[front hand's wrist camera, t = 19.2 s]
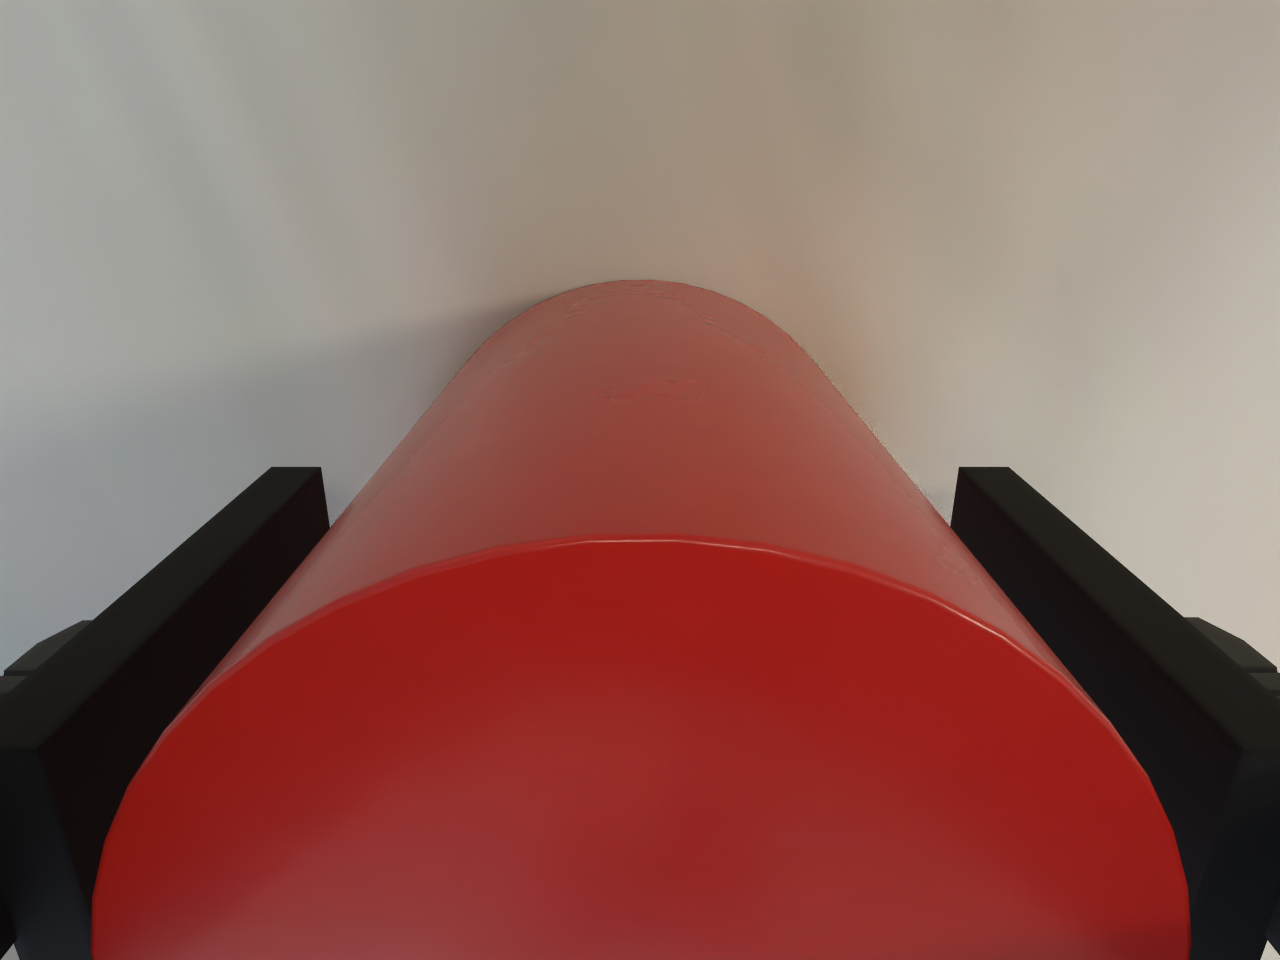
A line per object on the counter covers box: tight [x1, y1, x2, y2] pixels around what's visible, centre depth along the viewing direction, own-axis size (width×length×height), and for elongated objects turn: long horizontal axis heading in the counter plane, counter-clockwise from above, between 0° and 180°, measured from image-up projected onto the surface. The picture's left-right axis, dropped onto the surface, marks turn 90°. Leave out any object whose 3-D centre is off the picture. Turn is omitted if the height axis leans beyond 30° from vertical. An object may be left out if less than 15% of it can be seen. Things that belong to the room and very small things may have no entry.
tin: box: [91, 280, 1191, 960], centre depth 11 cm, size 8×8×10 cm
